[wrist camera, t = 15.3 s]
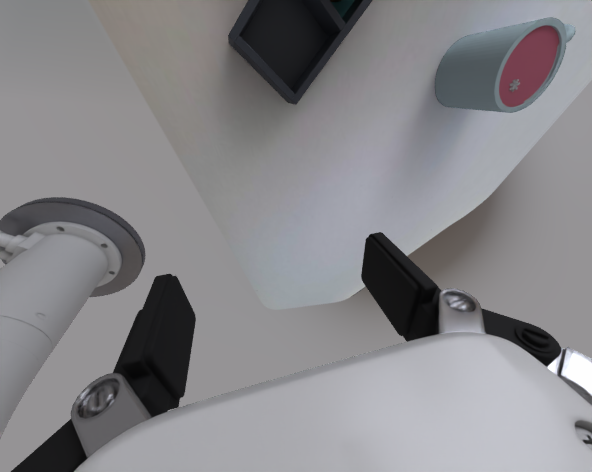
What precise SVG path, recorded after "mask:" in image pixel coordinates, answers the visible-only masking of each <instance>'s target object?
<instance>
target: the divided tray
mask: <svg viewBox="0 0 592 472" xmlns="http://www.w3.org/2000/svg"><path fill="white" fill-rule="evenodd" d="M371 1H372V0H341V1H339V2H331V1H330V0H248V2H247V4H246V6H245V7H244V9H243V11H242V12H241V14H240V16H239V18H238V19H237V21H236V23H235V25H234V26H233V28H232V30H231V31H230V33H229V35H228V40H229V44H230V45H231V46H232V47H233V48H234V49H235V50H236V51H237V52H238V53H239V54H240V55H241V56H242V57H243V58H244V59H245V60H246V61H247V62H248V63H249V64H250V65H251V66H252V67H253V68H254V69H255V70H256V71H257V72H258V73H259V74H260V75H261V76H262V77H263V78H264V79H265V80H266V81H267V82H268V83H269V84H270V85H271V86H272V87H273V88H274V89H275V90H276V91H277V92H278V93H279V94H280V95H281V96H282V97H283V98H284V99H285V100H286V101H287V102H288V103H292V104H297V103H298V101H299V100H300V98H301V97H302V96H303V94H304V93H305V92H306V90H307V89H308V88H309V86H310V85H311V83H312V82H313V81H314V79H315V78H316V77H317V75H318V74H319V73H320V71H321V70H322V68H323V67H324V66H325V64H326V63H327V62H328V60H329V59H330V57H331V56H332V55H333V53H334V52H335V51H336V49H337V48H338V47H339V45H340V44H341V42H342V41H343V40H344V38H345V37H346V36H347V34H348V33H349V32H350V30H351V29H352V27H353V26H354V25H355V23H356V22H357V21H358V19H359V18H360V16H361V15H362V14H363V12H364V11H365V10H366V8H367V7H368V6H369V4H370V3H371Z"/></svg>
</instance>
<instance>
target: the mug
mask: <svg viewBox="0 0 592 472" xmlns="http://www.w3.org/2000/svg"><path fill="white" fill-rule="evenodd" d="M574 34H575V27H574V26H572V25H570V24H563V23H562V22H561V21H560V20H559V19H557V18H544V19H540V20H535V21H531V22H526V23H522V24H517V25H513V26H508V27H504V28H499V29H495V30H490V31H486V32H481V33H477V34H472V35H468V36H465V37H463V38H461V39H459V40H458V41H457V42H455V43H454V44H453V45H452V46H451V47H450V48H449V50H448V51H447V52H446V54H445V55H444V57H443V59H442V60H441V63H440V65H439V67H438V70H437V74H436V78H435V93H436V97H437V99H438V101H439V102H440V103H441V104H442V105H443V106H445V107H451V108H462V109H474V110H485V111H496V112H508V113H512V112H517V111H520V110H522V109H524V108H526V107H527V106H529V105H530V104H532V103H533V102H534V101H535V100H536V99H537V98H538V97H539V96H540V95H541V94H542V93H543V92H544V91H545V90H546V88H547V87H548V86H549V84H550V83H551V81H552V80H553V78H554V77H555V75H556V73H557V71H558V69H559V67H560V65H561V62H562V60H563V57H564V53H565V49H566V43H567V42H568V41H570V40H571V39H572V37H573V36H574Z"/></svg>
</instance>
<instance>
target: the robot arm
mask: <svg viewBox="0 0 592 472" xmlns="http://www.w3.org/2000/svg"><path fill="white" fill-rule="evenodd" d="M0 246H2V247H5V250H4V249H2V248H0V259H4V260H6V263H7V264H6V265H5V266H4V267H2V268H1V269H0V438H1V436H2V434H3V432H4V430H5V428H6V426H7V423H8V421H9V420H10V418H11V416H12V414H13V412H14V410H15V409H16V407H17V405H18V403H19V402H20V400H21V398H22V397H23V395H24V393H25V392H26V390H27V388H28V387H29V385H30V384H31V382H32V381H33V379H34V378H35V376H36V374H37V373H38V371H39V370H40V368H41V367H42V365H43V364H44V362H45V361H46V360H47V358H48V356H49V355H50V353H51V352H52V351H53V349H54V348H55V346H56V345H57V344H58V342H59V341H60V339H61V338H62V336H63V335H64V333H65V332H66V330H67V329H68V327H69V326H70V324H71V323H72V321H73V320H74V319H75V317H76V316H77V314H78V313H79V311H80V310H81V308H82V307H83V305H84V304H85V302H86V301H87V299H88V298H89V296H90V295H91V293H92V292H93V291H94V289H95V288H96V287H99V286H102V285H104V284H107V283H108V282H110V281H111V280H113V279H114V278H115V277H116V276H117V274H118V272H119V271H120V268H121V266H122V258H121V254H120V252H119V250H118V248H117V247H116V245H115V244H114V243H113V242H112V241H111V240H110V239H109V238H108V237H106V236H105V235H103V234H102V233H100V232H98V231H96V230H94V229H92V228H90V227H87V226H84V225H81V224H76V223H71V222H61V221H59V222H47V223H43V224H39V225H37V226H35V227H33V228H31V229H30V230H28V231H27V232H25V233H24V234H23V235H17V236H12V235H9V234H6V233H4V232H3V231H0ZM361 277H362V281H363V283H364V284H365V286H366V287H367V289H368V290H369V292H370V293H371V294H372V296H373V297H374V299H375V300H376V302H377V303H378V305H379V306H380V307H381V309H382V311H383V312H384V314H385V315H386V316H387V318H388V319H389V321H390V322H391V324H392V325H393V327H394V328H395V330H396V331H397V333H398V334H399V335H401V336H403V337H404V338H405V340H406V341H407V342H404V343H401V344H397V345H393V346H390V347H386V348H382V349H379V350H375V351H372V352H368V353H364V354H361V355H358V356H354V357H350V358H347V359H343V360H340V361H336V362H332V363H329V364H325V365H322V366H318V367H315V368H312V369H308V370H305V371H301V372H298V373H294V374H290V375H287V376H284V377H280V378H277V379H273V380H270V381H266V382H263V383H259V384H256V385H252V386H249V387H246V388H242V389H239V390H235V391H232V392H229V393H225V394H221V395H218V396H215V397H212V398H208V399H205V400H202V401H199V402H196V403H192V404H189V405H186V406H183V407H179V408H177V407H178V406H179V400H180V398H181V397H183V396H184V393H185V386H186V381H187V374H188V367H189V361H190V354H191V347H192V341H193V334H194V328H195V321H196V318H195V314H194V312H193V309H192V307H191V305H190V303H189V301H188V299H187V297H186V295H185V293H184V291H183V289H182V286H181V284H180V282H179V280H178V278H177V277H176V276H172V275H171V274H166V275H161V276H156V277H155V279H154V282H153V284H152V287H151V289H150V292H149V295H148V297H147V299H146V302H145V304H144V307H143V309H142V310H140V311H139V312H138V314H137V316H136V318H135V321H134V323H133V326H132V328H131V330H130V333H129V335H128V338H127V340H126V342H125V345H124V347H123V350H122V352H121V354H120V357H119V359H118V362H117V364H116V367H115V369H114V372H113V373H111V374H107V375H104V376H102V377H100V378H98V379H96V380H95V381H93V382H92V383H91V384H90V385H88V386H87V387H86V388H85V389H84V390H83V391H82V393H81V394H80V395H79V396H78V397H77V399H76V401H75V402H74V404H73V407H72V410H71V419H70V420H69V421H68V422H67V423H66V424H65V425H63V426H62V427H61V428H60V429H59V430H58V431H57V432H56V433H54V434H53V435H52V436H51V437H50V438H49V439H48V440H47V441H45V442H44V443H43V444H42V445H41V446H40V447H38V448H37V449H36V450H35V451H34V452H33V453H32V454H30V455H29V456H28V457H27V458H26V459H25V460H24V461H23V462H21V463H20V464H19V465H18V466H17V467H16V468H14V469H13V470H12V471H11V472H592V359H591V358H589V357H587V356H585V355H582V354H581V353H579V352H577V351H575V350H572V349H570V348H568V347H567V348H566V349H563V348H561V347H560V346H559V343H558V342H557V341H556V340H555V339H554V338H553V337H552V336H551V335H550V334H548V333H547V332H546V331H544V330H542V329H541V328H539V327H536V326H534V325H532V324H529V323H525V322H522V321H519V320H516V319H513V318H510V317H507V316H504V315H500V314H497V313H494V312H491V311H488V310H485V309H482V308H481V306H480V304H479V302H478V301H477V300H476V299H475V298H474V297H473V296H472V295H470V294H468V293H467V292H465V291H462V290H459V289H454V288H447V289H444V290H442V291H441V290H440V289H439V288H438V286H437V285H436V284H435V283H434V282H433V281H432V280H431V279H430V278H429V277H428V276H427V275H426V274H425V273H424V272H423V271H422V270H421V269H420V268H419V267H417V266H416V265H415V264H414V263H413V262H412V261H411V260H410V259H409V258H408V257H407V256H406V255H405V254H404V253H403V252H402V251H401V250H400V249H399V248H398V247H397V246H395V245H394V244H393V243H392V242H391V241H390V240H389V239H388V238H387V237H386V236H385V235H384V234H383V233H381V232H379V233H374V234H370V235H369V237H368V238H366V243H365V251H364V259H363V267H362V275H361ZM415 339H416V340H415ZM174 408H177V409H174ZM170 409H174V410H171V411H168V410H170ZM167 411H168V412H167Z"/></svg>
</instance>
